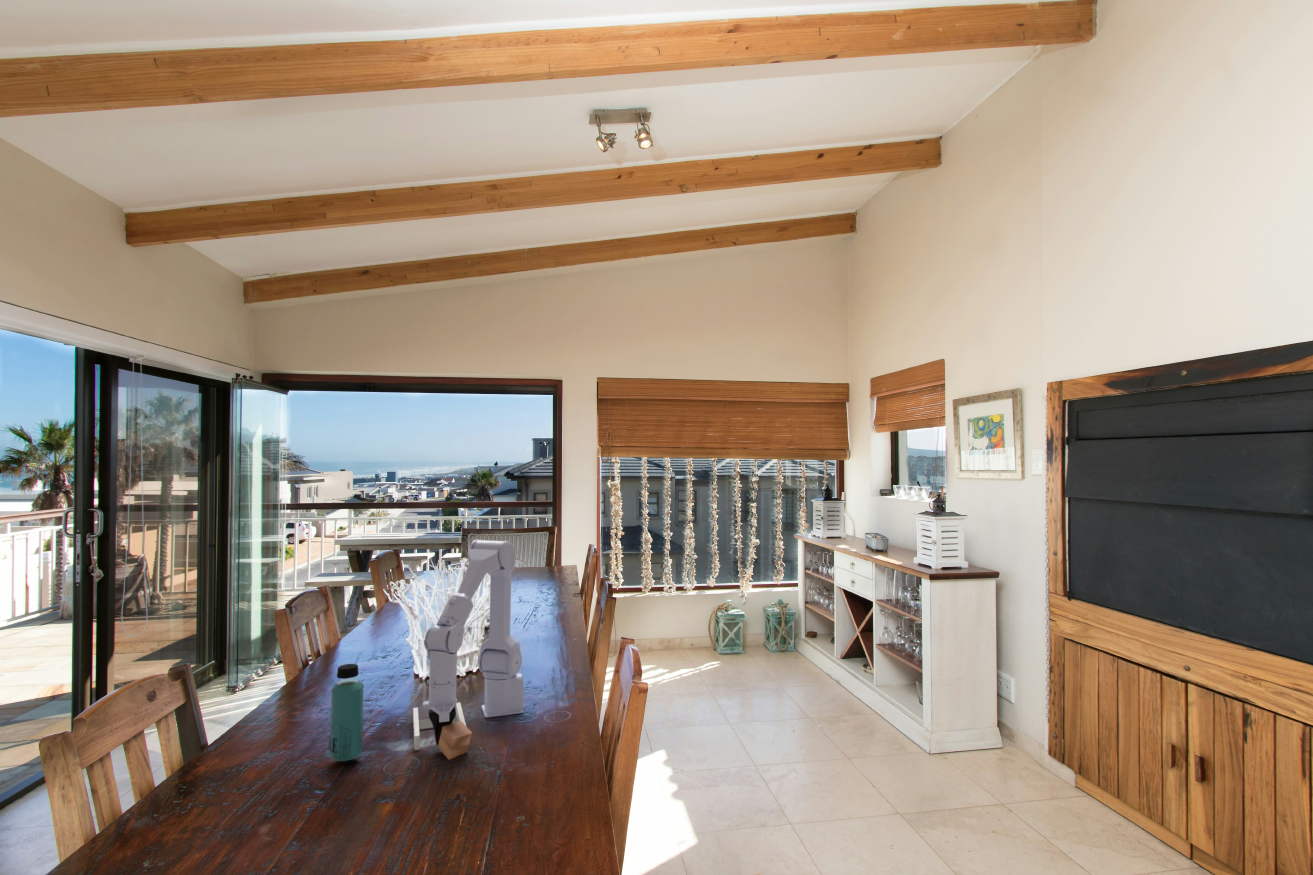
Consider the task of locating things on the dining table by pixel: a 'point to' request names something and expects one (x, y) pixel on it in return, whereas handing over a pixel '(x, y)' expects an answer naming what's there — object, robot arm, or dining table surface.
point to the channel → (428, 724)
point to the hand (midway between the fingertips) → (441, 743)
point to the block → (454, 739)
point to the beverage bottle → (346, 715)
